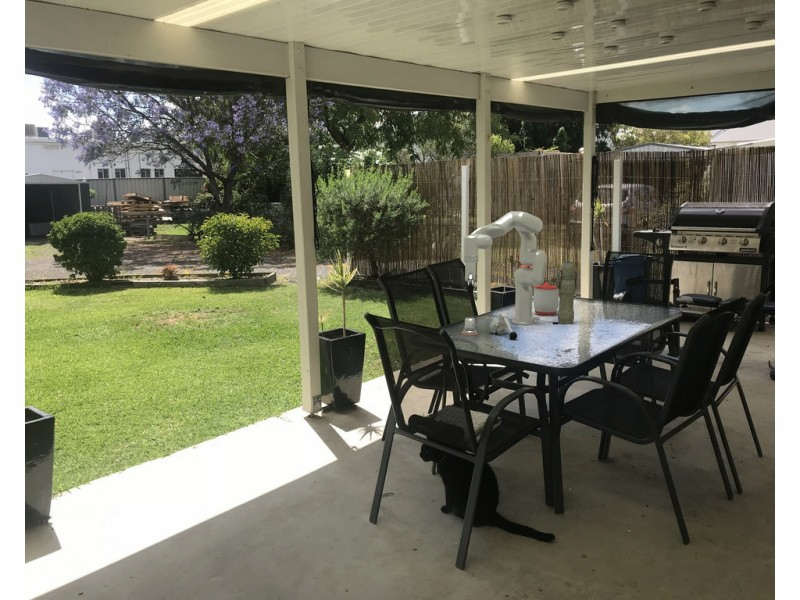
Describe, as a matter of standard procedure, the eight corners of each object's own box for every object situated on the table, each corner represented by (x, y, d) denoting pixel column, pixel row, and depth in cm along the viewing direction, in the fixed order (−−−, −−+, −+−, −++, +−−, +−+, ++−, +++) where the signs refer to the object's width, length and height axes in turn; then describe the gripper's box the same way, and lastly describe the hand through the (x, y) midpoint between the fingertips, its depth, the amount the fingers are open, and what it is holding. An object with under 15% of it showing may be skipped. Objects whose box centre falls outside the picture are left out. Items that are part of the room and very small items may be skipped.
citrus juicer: (564, 316, 386) (565, 283, 382) (535, 316, 386) (536, 283, 383) (558, 312, 401) (559, 280, 398) (530, 312, 401) (531, 280, 398)
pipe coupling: (463, 331, 345) (463, 317, 344) (476, 331, 344) (476, 317, 343) (462, 333, 338) (463, 319, 337) (476, 334, 338) (476, 320, 336)
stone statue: (579, 324, 364) (581, 262, 359) (560, 325, 361) (562, 263, 356) (571, 321, 373) (573, 261, 367) (552, 322, 370) (554, 261, 364)
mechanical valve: (503, 325, 347) (511, 308, 336) (516, 352, 336) (525, 334, 325) (486, 328, 344) (493, 310, 333) (499, 355, 333) (506, 338, 322)
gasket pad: (478, 331, 345) (478, 331, 345) (478, 335, 336) (478, 334, 336) (461, 331, 346) (461, 330, 346) (460, 334, 338) (460, 334, 338)
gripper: (464, 257, 344) (463, 289, 347) (463, 261, 327) (462, 294, 330) (478, 257, 343) (477, 289, 346) (478, 261, 326) (477, 294, 329)
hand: (470, 291), depth 338 cm, fingers open, 9 cm apart
